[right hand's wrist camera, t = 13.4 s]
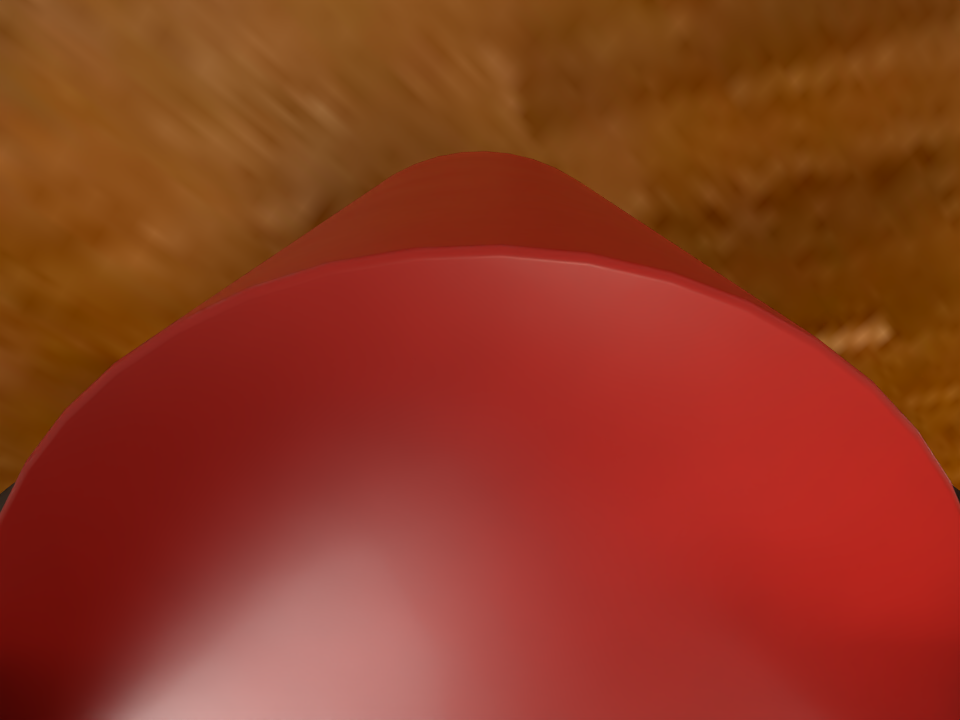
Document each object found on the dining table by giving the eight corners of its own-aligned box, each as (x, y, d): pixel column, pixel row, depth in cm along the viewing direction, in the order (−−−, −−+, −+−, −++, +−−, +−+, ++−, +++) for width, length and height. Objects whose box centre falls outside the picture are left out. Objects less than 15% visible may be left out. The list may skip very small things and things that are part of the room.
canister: (245, 320, 17) (-215, 718, 6) (488, 66, 15) (514, -98, 3) (475, 521, 19) (467, 1078, 8) (714, 332, 17) (1162, 744, 6)
